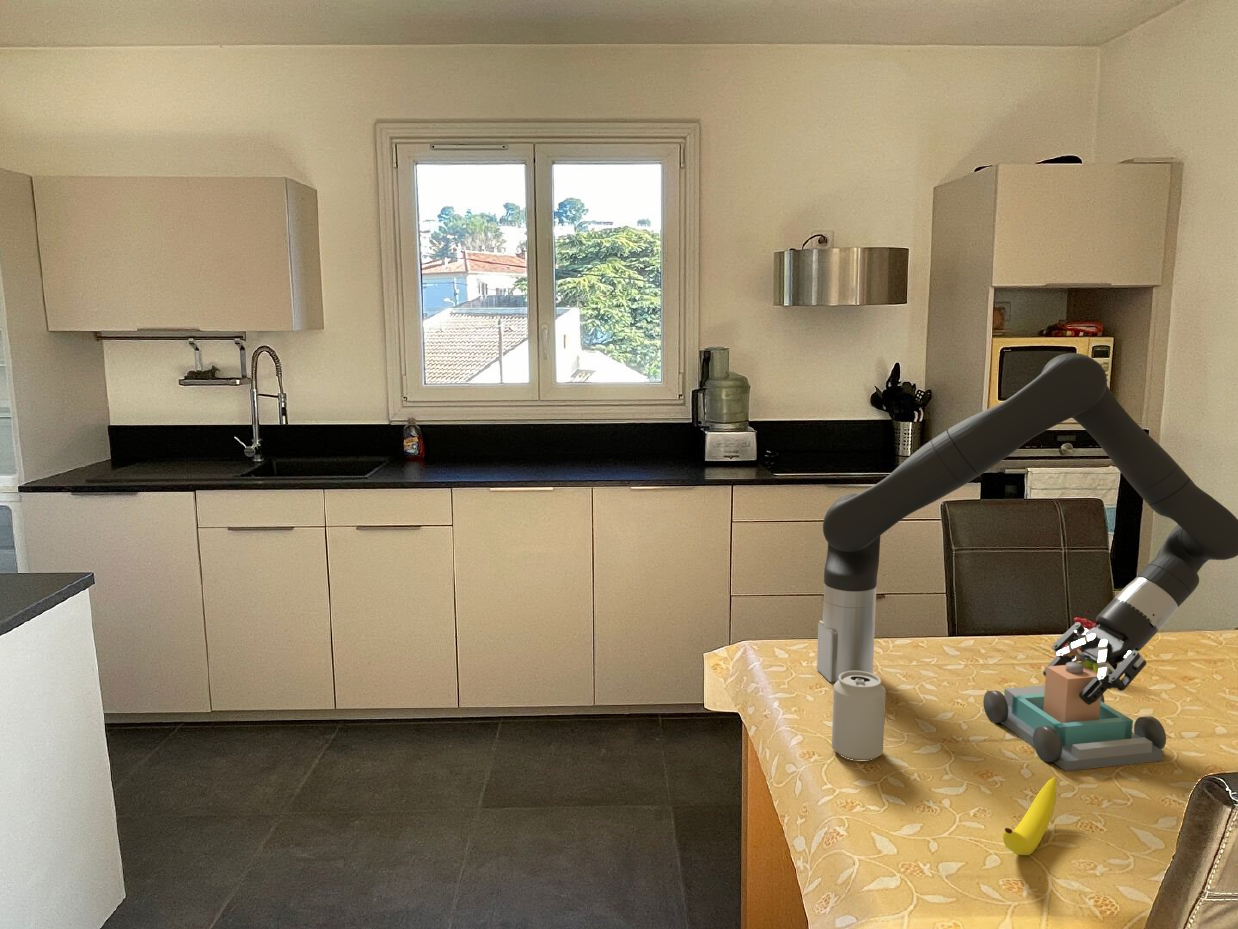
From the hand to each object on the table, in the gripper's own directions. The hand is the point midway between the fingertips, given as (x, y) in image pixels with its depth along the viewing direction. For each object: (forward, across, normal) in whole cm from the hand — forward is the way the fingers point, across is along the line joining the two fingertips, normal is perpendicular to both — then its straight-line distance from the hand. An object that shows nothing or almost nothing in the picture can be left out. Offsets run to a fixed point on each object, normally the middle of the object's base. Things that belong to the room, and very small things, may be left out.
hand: (1064, 689), depth 139 cm
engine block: (+3, 0, +5) cm, 6 cm away
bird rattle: (-8, -21, +19) cm, 30 cm away
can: (+29, -1, -18) cm, 35 cm away
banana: (+22, +25, -10) cm, 35 cm away
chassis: (+4, 0, +6) cm, 8 cm away
